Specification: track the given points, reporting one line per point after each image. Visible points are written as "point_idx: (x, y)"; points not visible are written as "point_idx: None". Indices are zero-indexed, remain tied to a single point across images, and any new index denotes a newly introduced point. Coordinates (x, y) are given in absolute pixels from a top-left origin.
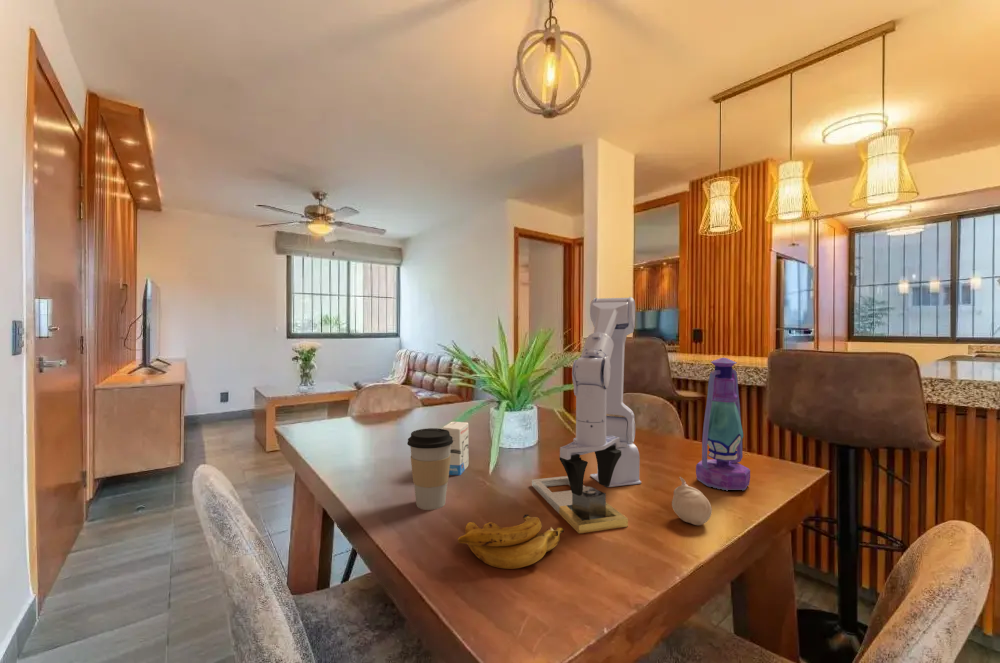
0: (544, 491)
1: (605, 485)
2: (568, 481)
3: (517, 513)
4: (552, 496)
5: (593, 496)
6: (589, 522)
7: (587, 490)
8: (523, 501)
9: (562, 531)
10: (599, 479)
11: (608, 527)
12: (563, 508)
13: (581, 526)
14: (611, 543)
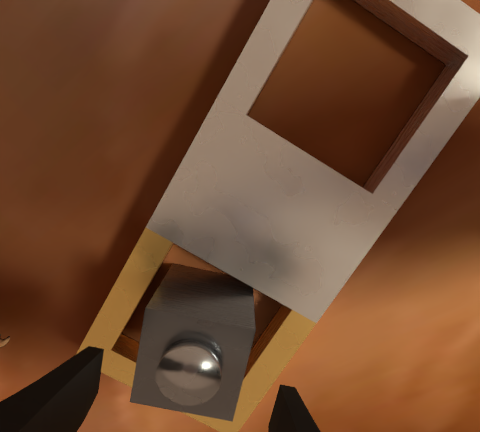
0: (230, 78)
1: (270, 422)
2: (454, 65)
3: (37, 98)
4: (208, 144)
5: (164, 401)
6: (117, 371)
7: (170, 379)
8: (140, 33)
9: (4, 340)
10: (282, 403)
11: None
12: (141, 250)
13: None
14: (111, 425)
